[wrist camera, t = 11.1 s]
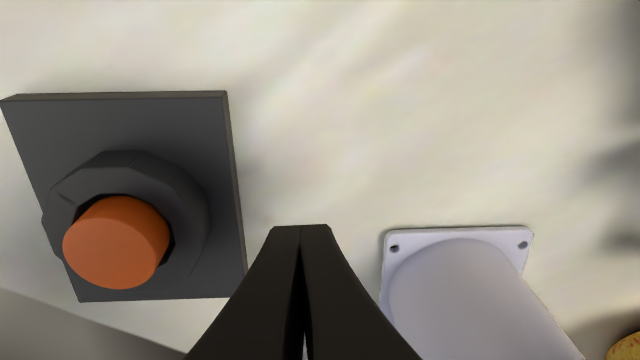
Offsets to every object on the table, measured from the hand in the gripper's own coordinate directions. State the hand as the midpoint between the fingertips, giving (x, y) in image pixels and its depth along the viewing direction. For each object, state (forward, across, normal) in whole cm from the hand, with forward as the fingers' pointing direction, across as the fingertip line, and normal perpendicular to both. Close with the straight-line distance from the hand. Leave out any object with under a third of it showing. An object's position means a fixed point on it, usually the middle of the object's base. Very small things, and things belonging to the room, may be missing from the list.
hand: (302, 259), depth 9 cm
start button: (+7, +8, +3) cm, 11 cm away
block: (+9, +8, +4) cm, 13 cm away
